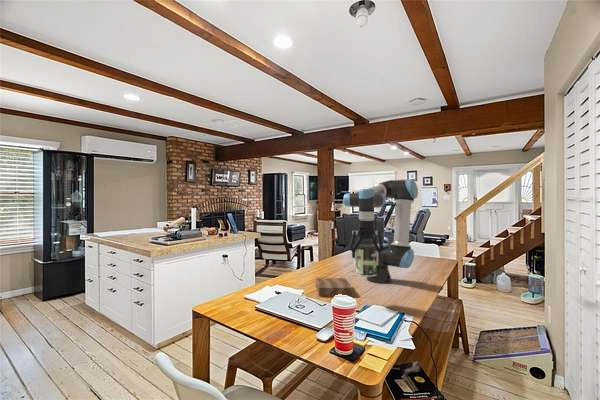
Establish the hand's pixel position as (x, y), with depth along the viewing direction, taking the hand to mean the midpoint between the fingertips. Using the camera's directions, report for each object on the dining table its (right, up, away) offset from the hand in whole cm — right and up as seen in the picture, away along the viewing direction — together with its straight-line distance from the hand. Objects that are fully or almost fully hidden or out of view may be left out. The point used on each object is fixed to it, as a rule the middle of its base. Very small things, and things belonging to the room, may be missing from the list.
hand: (365, 264), depth 140 cm
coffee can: (0, -5, 0) cm, 5 cm away
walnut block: (-14, -19, +18) cm, 30 cm away
